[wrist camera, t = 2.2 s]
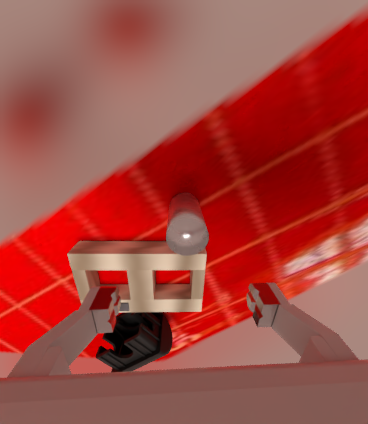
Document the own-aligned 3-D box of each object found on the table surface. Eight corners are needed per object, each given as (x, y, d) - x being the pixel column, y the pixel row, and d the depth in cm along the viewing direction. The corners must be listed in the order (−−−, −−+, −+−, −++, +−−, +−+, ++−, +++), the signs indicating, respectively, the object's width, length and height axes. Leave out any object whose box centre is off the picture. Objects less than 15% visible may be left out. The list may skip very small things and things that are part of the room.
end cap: (133, 340, 35) (123, 384, 29) (106, 321, 33) (90, 365, 26) (173, 319, 33) (172, 362, 27) (148, 297, 31) (141, 339, 24)
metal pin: (200, 192, 23) (210, 219, 16) (198, 220, 25) (207, 255, 18) (169, 192, 23) (165, 218, 16) (169, 219, 25) (166, 255, 17)
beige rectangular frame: (203, 241, 26) (206, 254, 23) (199, 295, 31) (201, 312, 28) (79, 240, 26) (66, 254, 23) (92, 296, 30) (83, 314, 27)
